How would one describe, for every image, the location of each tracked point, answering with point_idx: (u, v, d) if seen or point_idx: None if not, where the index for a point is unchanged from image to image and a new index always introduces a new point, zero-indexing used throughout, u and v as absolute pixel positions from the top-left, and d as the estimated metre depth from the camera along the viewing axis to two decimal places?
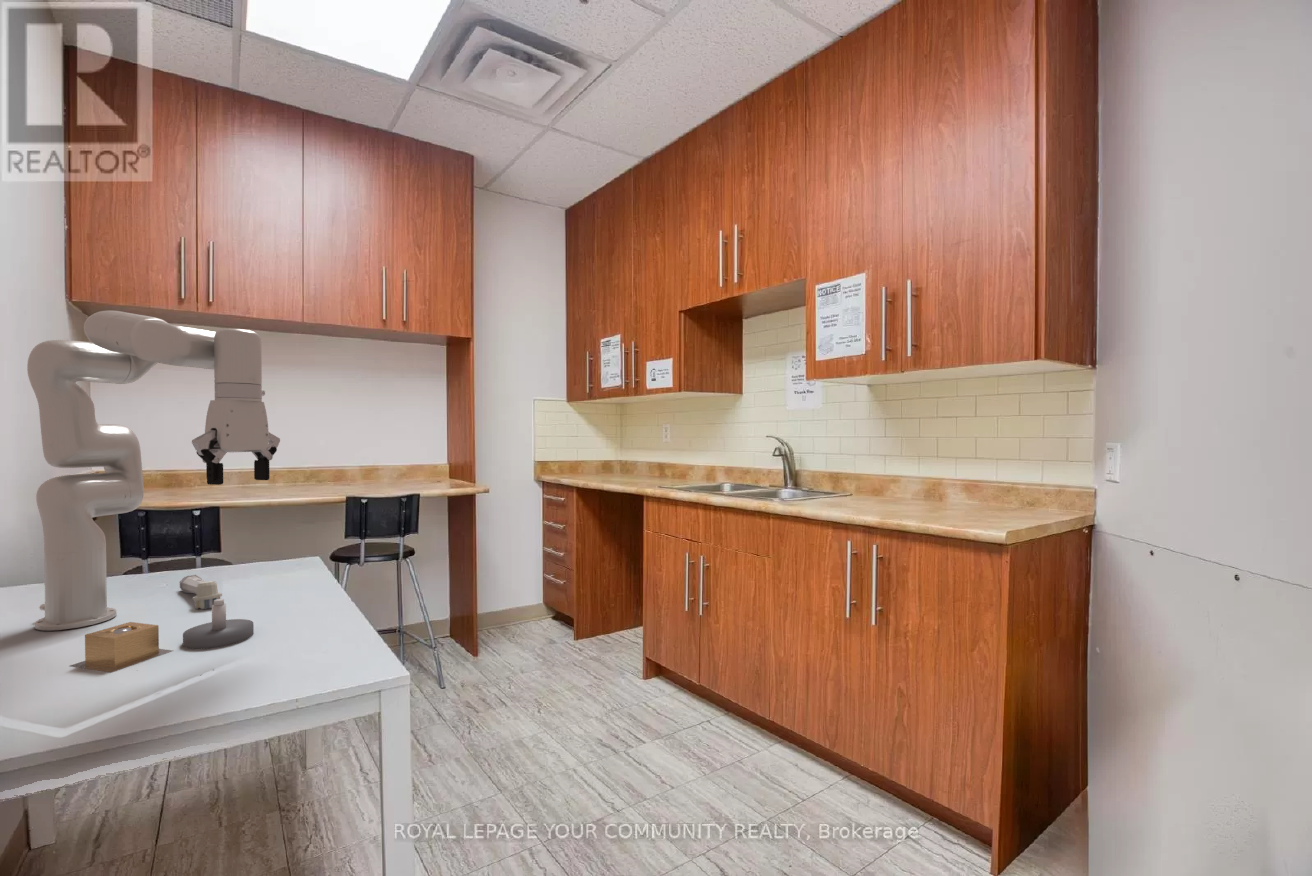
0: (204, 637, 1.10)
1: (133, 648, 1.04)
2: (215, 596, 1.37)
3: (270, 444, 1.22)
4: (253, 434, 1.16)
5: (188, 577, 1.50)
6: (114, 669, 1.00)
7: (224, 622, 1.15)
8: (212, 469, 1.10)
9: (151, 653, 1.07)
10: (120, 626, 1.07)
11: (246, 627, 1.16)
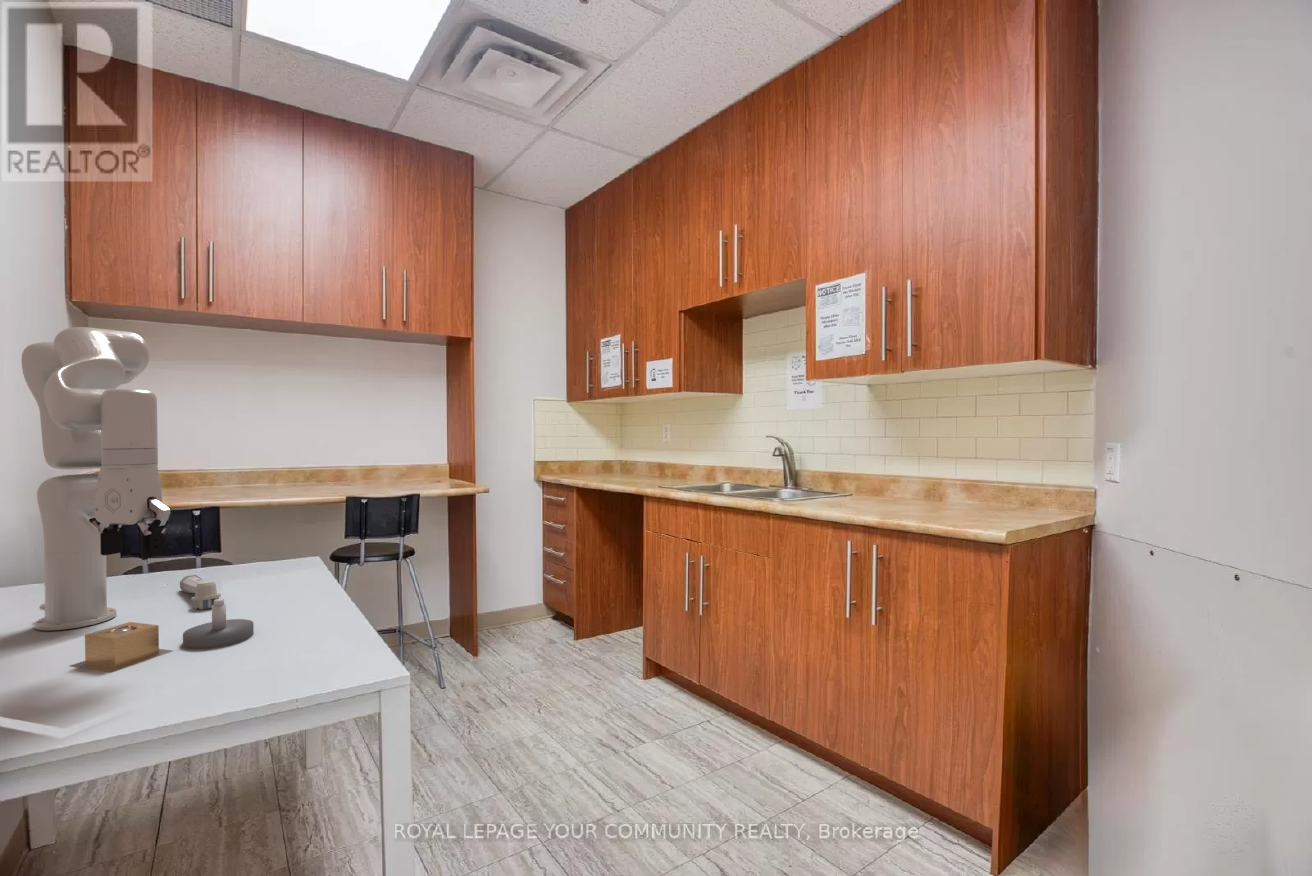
0: (204, 637, 1.10)
1: (133, 648, 1.04)
2: (213, 596, 1.37)
3: None
4: None
5: (188, 577, 1.50)
6: (114, 669, 1.00)
7: (224, 622, 1.15)
8: (160, 540, 1.05)
9: (151, 653, 1.07)
10: (120, 626, 1.07)
11: (246, 627, 1.16)
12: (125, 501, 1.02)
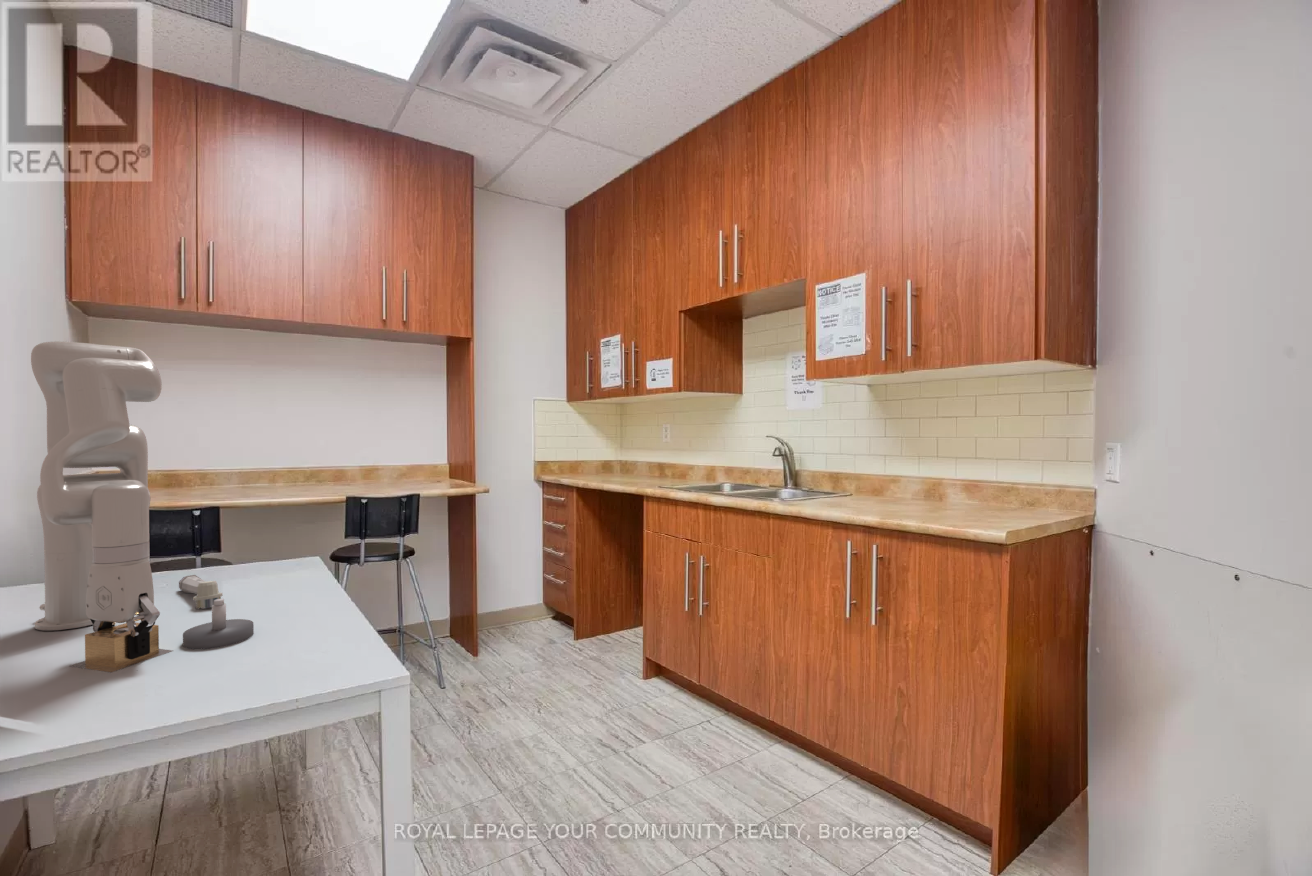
0: (204, 637, 1.10)
1: None
2: (215, 596, 1.38)
3: None
4: None
5: (187, 577, 1.50)
6: (114, 669, 1.00)
7: (224, 622, 1.15)
8: (147, 639, 1.05)
9: (151, 653, 1.07)
10: (120, 626, 1.07)
11: (246, 627, 1.16)
12: (116, 599, 1.02)
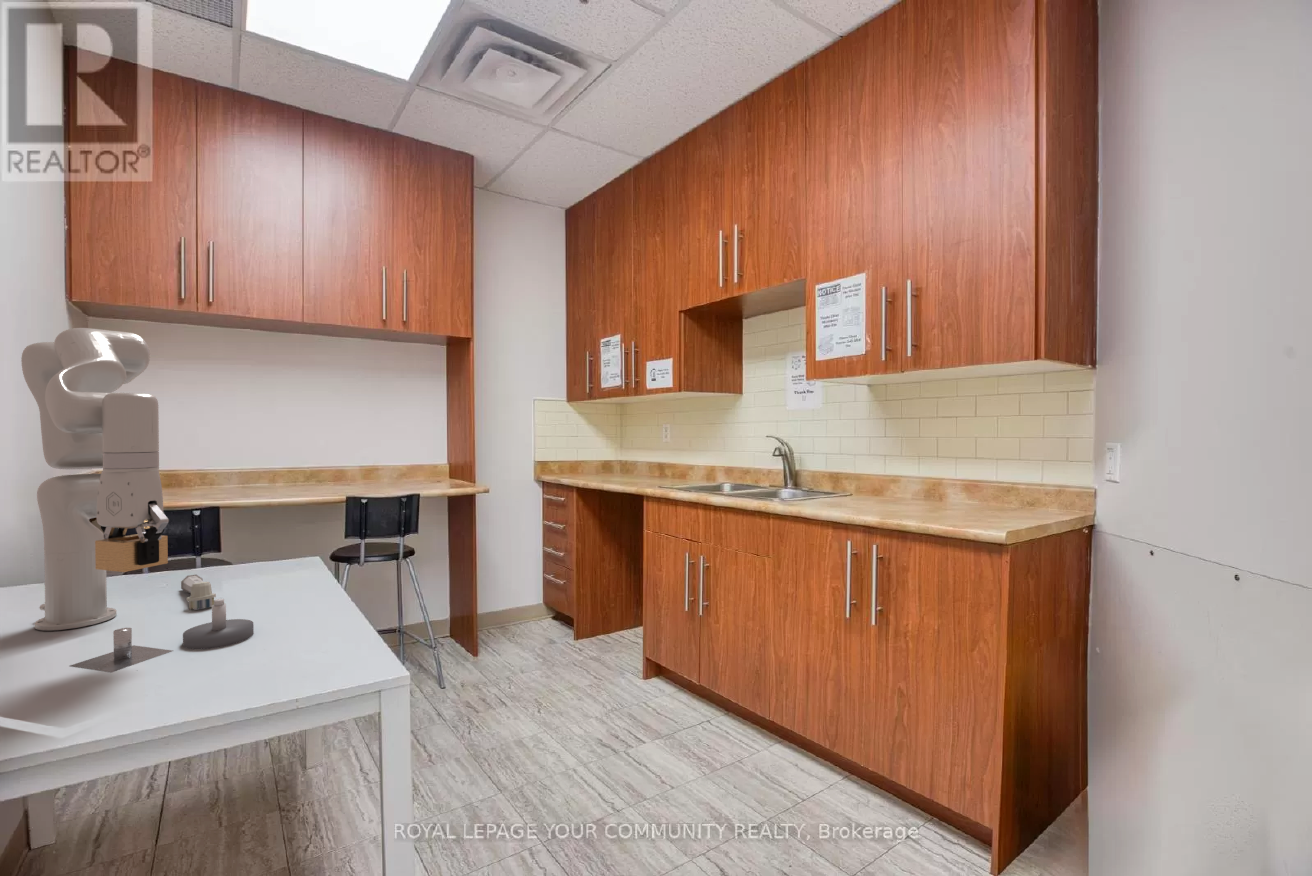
0: (204, 637, 1.10)
1: None
2: (207, 597, 1.37)
3: None
4: None
5: (188, 577, 1.51)
6: (114, 669, 1.00)
7: (224, 622, 1.15)
8: (156, 547, 1.05)
9: (160, 562, 1.07)
10: (130, 536, 1.08)
11: (246, 627, 1.16)
12: (126, 505, 1.02)
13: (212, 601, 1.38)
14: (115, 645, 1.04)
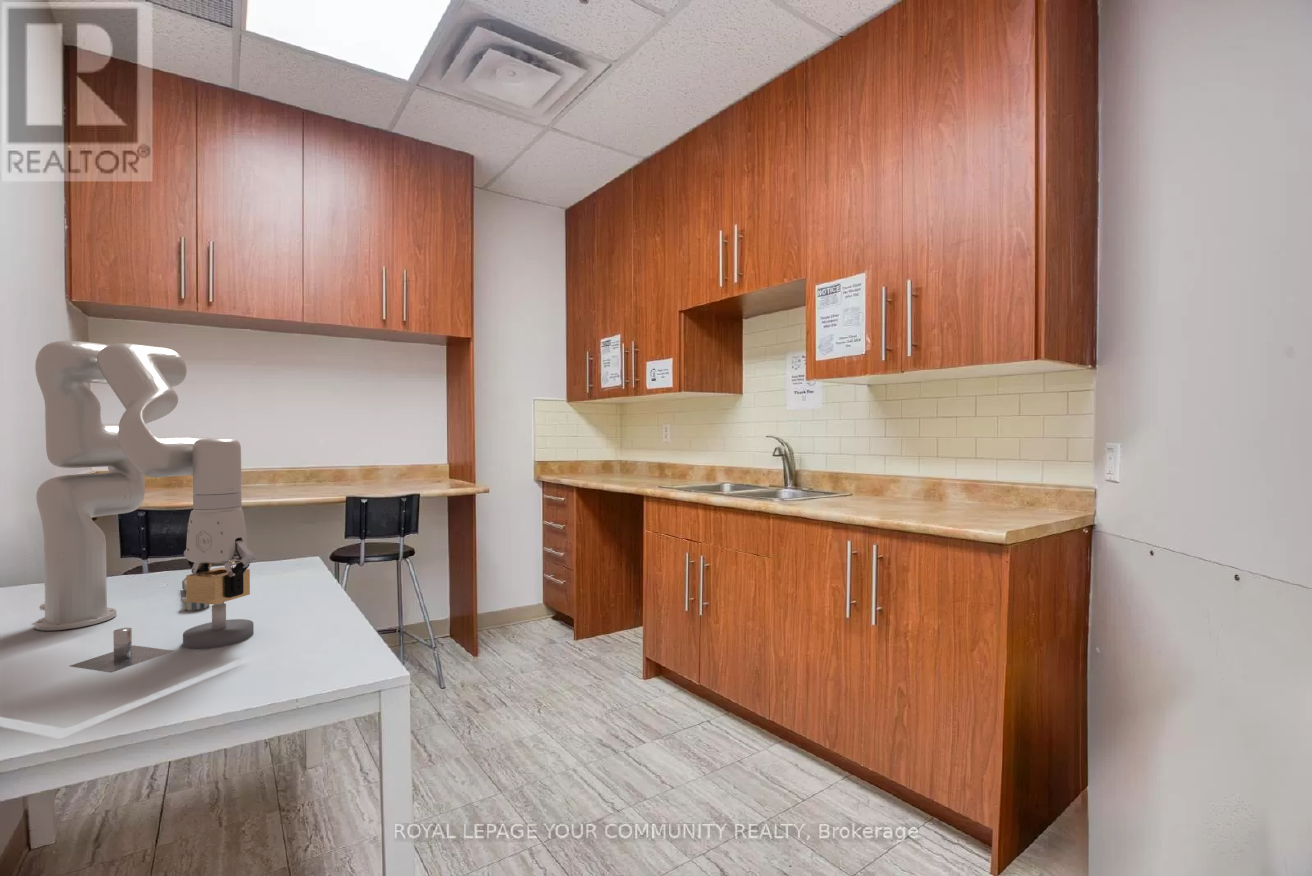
0: (204, 637, 1.10)
1: None
2: None
3: None
4: None
5: None
6: (114, 669, 1.00)
7: (224, 622, 1.15)
8: (241, 580, 1.14)
9: (244, 594, 1.16)
10: (215, 570, 1.17)
11: (246, 627, 1.16)
12: (216, 542, 1.11)
13: None
14: (115, 645, 1.04)
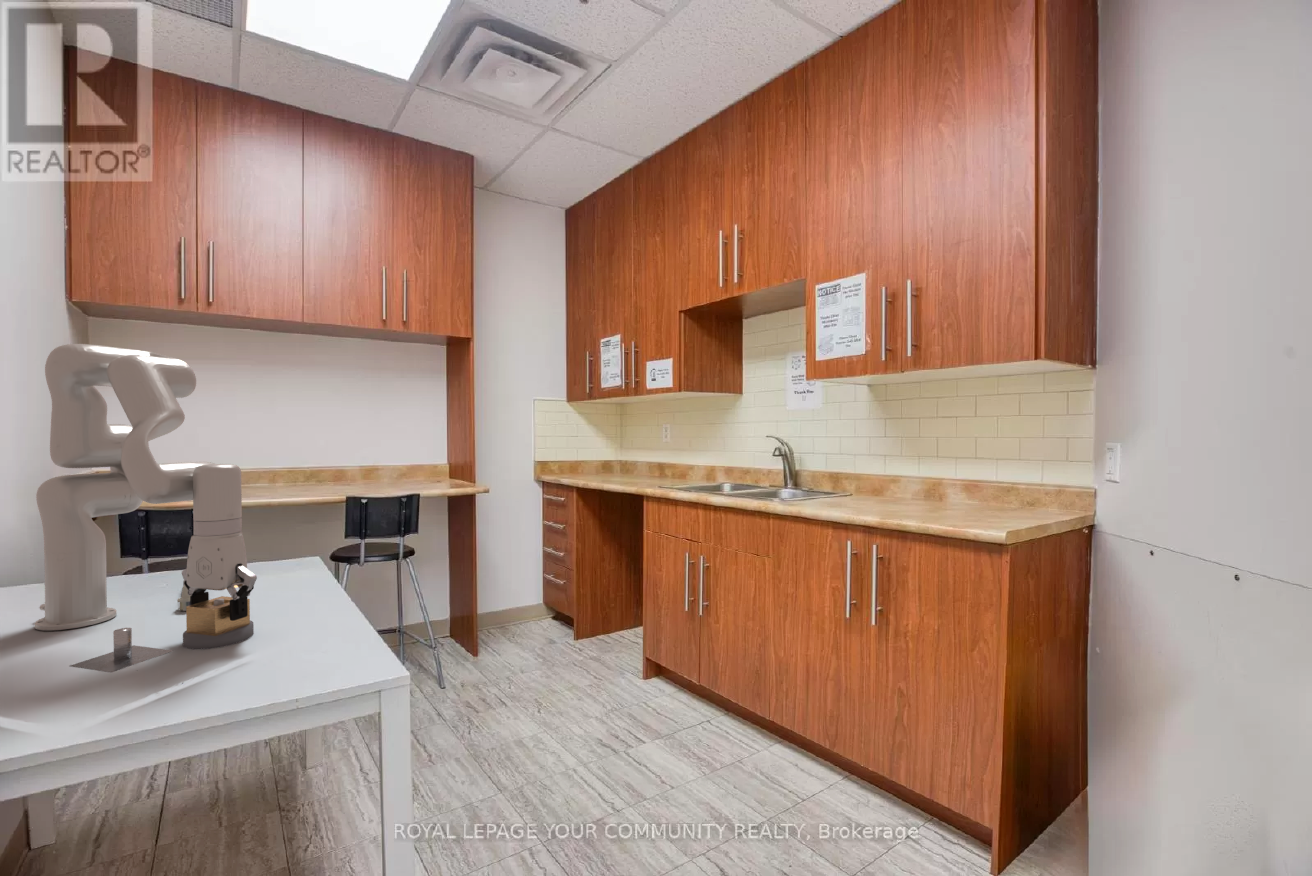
0: (204, 637, 1.10)
1: (229, 619, 1.13)
2: None
3: None
4: None
5: None
6: (114, 669, 1.00)
7: None
8: (246, 603, 1.14)
9: (244, 624, 1.16)
10: (215, 599, 1.17)
11: (246, 627, 1.16)
12: (216, 569, 1.11)
13: None
14: (115, 645, 1.04)
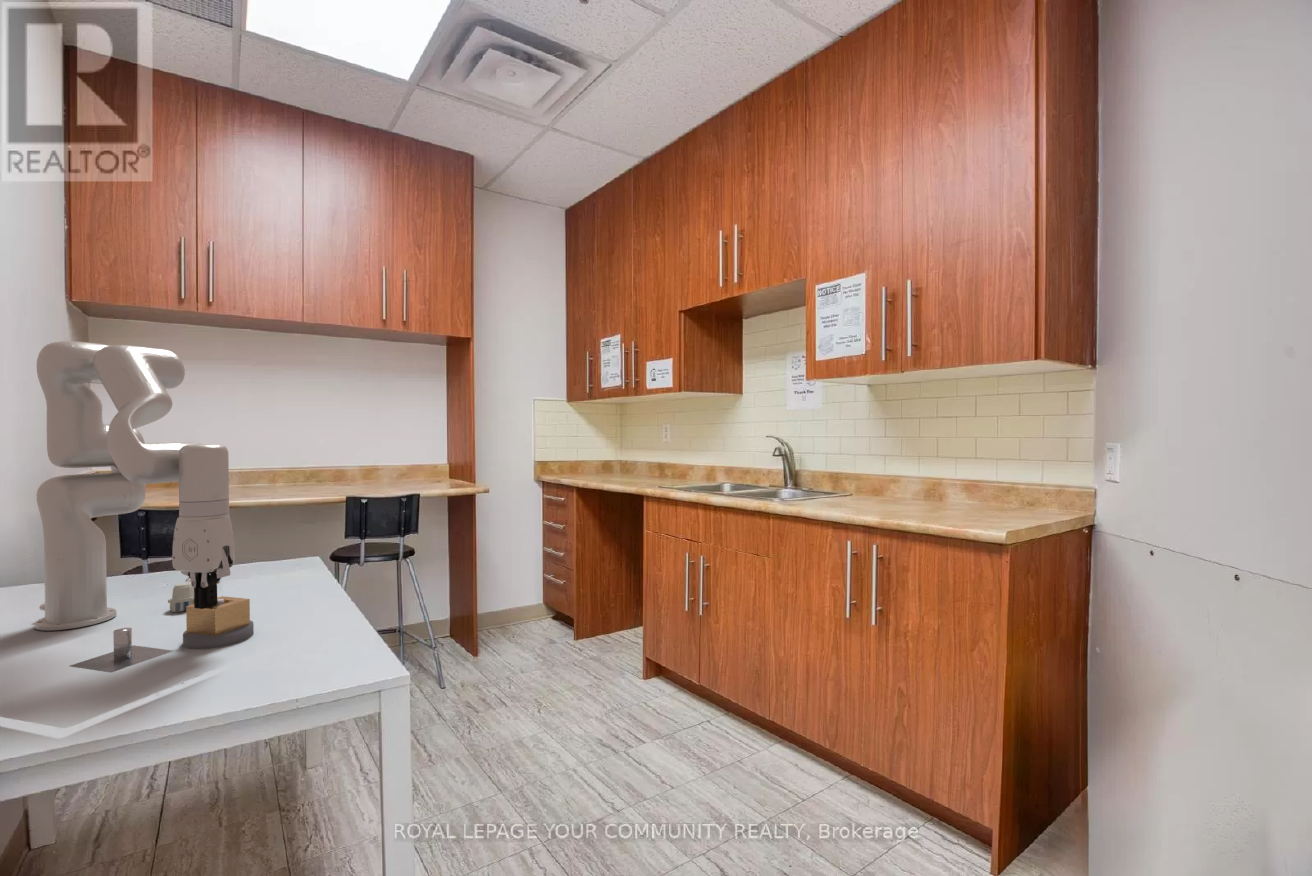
0: (204, 637, 1.10)
1: (229, 619, 1.13)
2: (185, 600, 1.34)
3: None
4: None
5: None
6: (114, 669, 1.00)
7: None
8: (215, 591, 1.13)
9: (244, 624, 1.16)
10: None
11: (246, 627, 1.16)
12: (202, 551, 1.09)
13: (192, 604, 1.36)
14: (115, 645, 1.04)
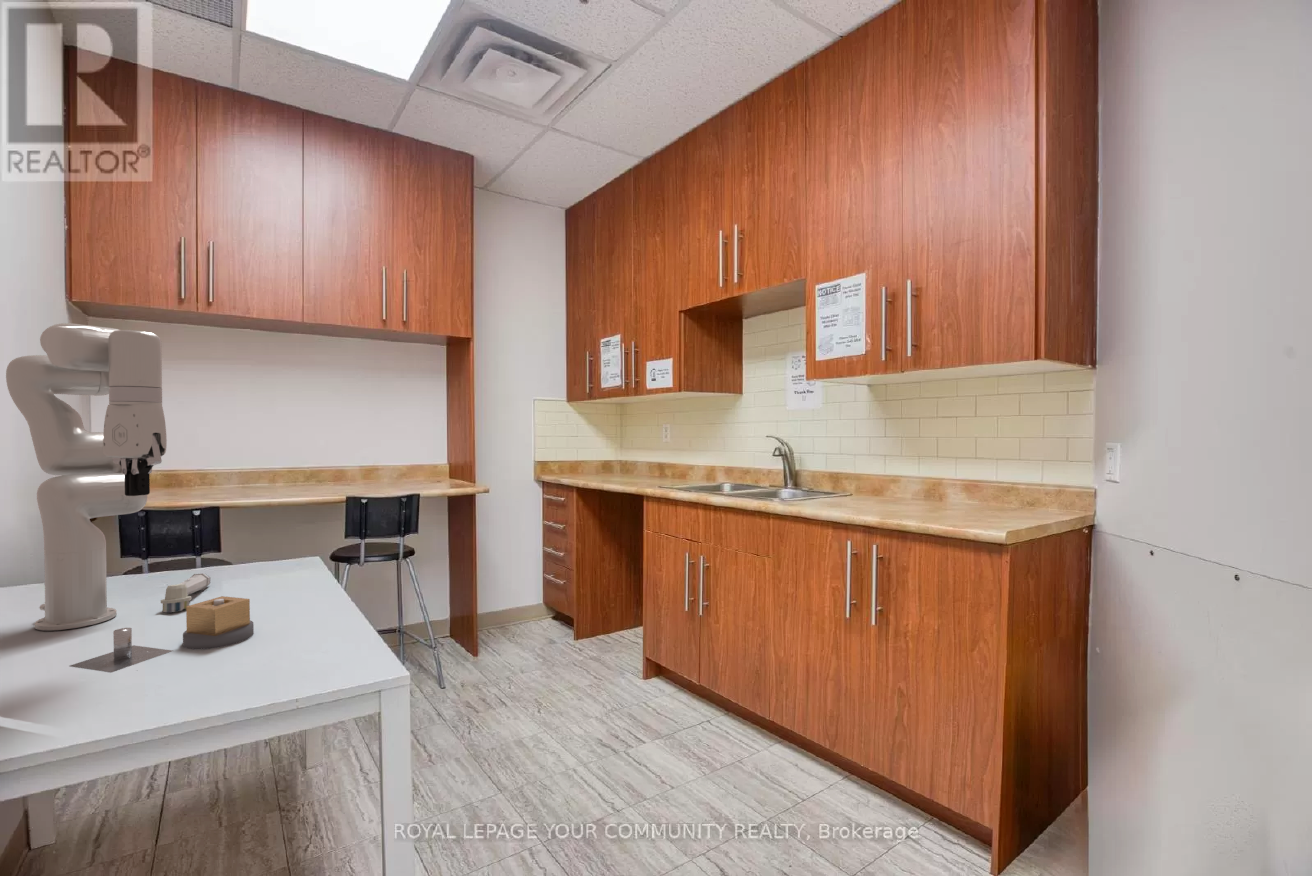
0: (204, 637, 1.10)
1: (229, 619, 1.13)
2: (177, 600, 1.34)
3: None
4: None
5: (194, 575, 1.52)
6: (114, 669, 1.00)
7: None
8: (147, 480, 1.12)
9: (244, 624, 1.16)
10: (215, 599, 1.17)
11: (246, 627, 1.16)
12: (132, 435, 1.08)
13: (184, 605, 1.35)
14: (115, 645, 1.04)
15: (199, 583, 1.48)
